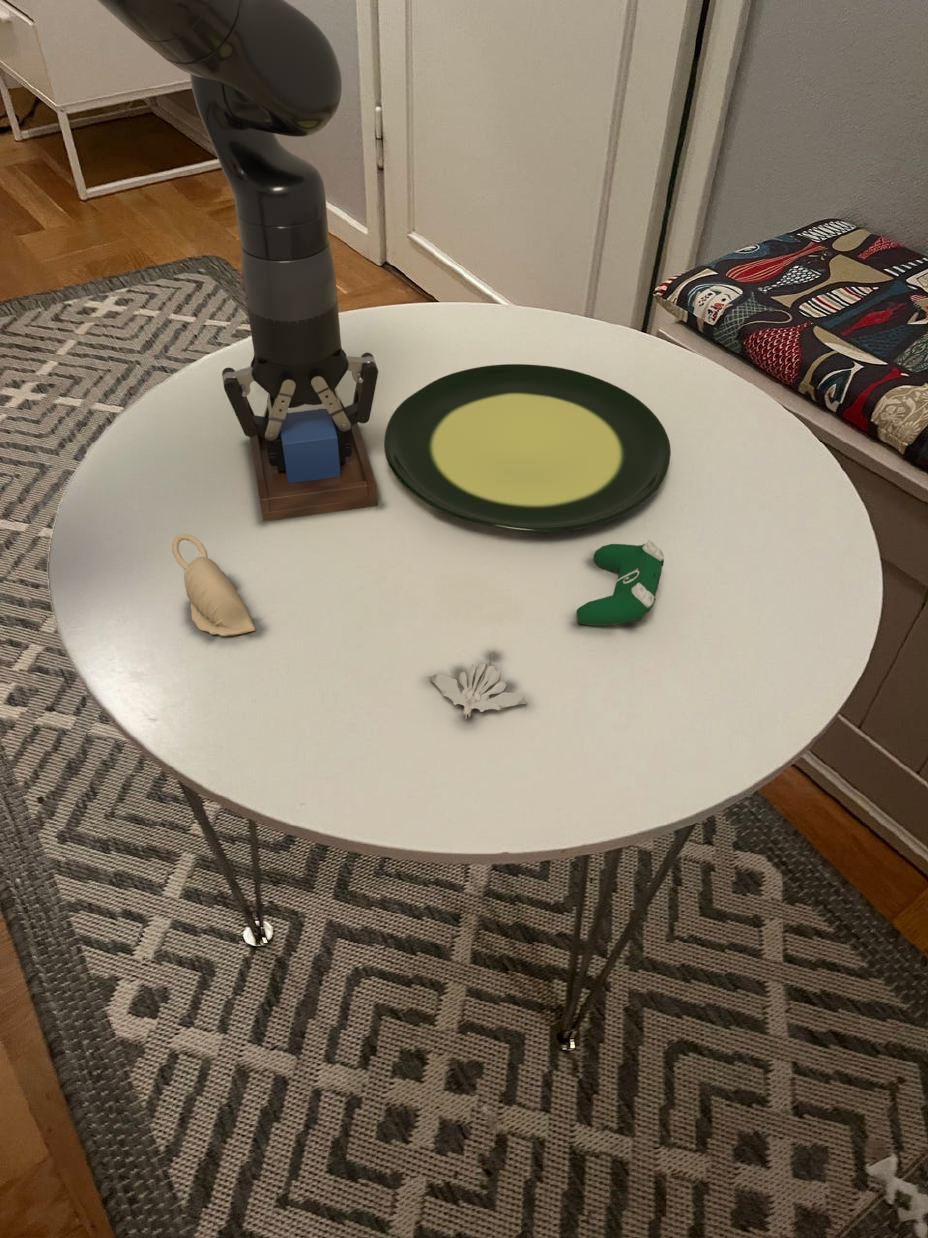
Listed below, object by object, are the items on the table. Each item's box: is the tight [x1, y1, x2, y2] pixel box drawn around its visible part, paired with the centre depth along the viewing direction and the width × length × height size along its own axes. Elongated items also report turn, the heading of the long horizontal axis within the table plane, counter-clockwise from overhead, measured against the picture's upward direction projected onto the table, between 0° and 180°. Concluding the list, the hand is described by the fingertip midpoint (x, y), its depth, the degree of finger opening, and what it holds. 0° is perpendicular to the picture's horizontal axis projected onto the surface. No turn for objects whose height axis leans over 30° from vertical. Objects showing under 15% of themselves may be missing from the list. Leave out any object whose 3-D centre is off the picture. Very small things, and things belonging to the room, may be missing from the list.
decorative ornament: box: [171, 533, 257, 637], centre depth 77 cm, size 4×8×5 cm, turn 29°
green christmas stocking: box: [576, 539, 665, 626], centre depth 80 cm, size 9×4×6 cm
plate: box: [383, 363, 672, 533], centre depth 94 cm, size 28×28×2 cm
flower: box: [427, 652, 528, 719], centre depth 73 cm, size 8×8×3 cm
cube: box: [280, 407, 341, 484], centre depth 90 cm, size 5×5×4 cm
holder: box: [249, 418, 378, 522], centre depth 91 cm, size 11×13×2 cm
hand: (311, 461), depth 91 cm, fingers open, 5 cm apart
